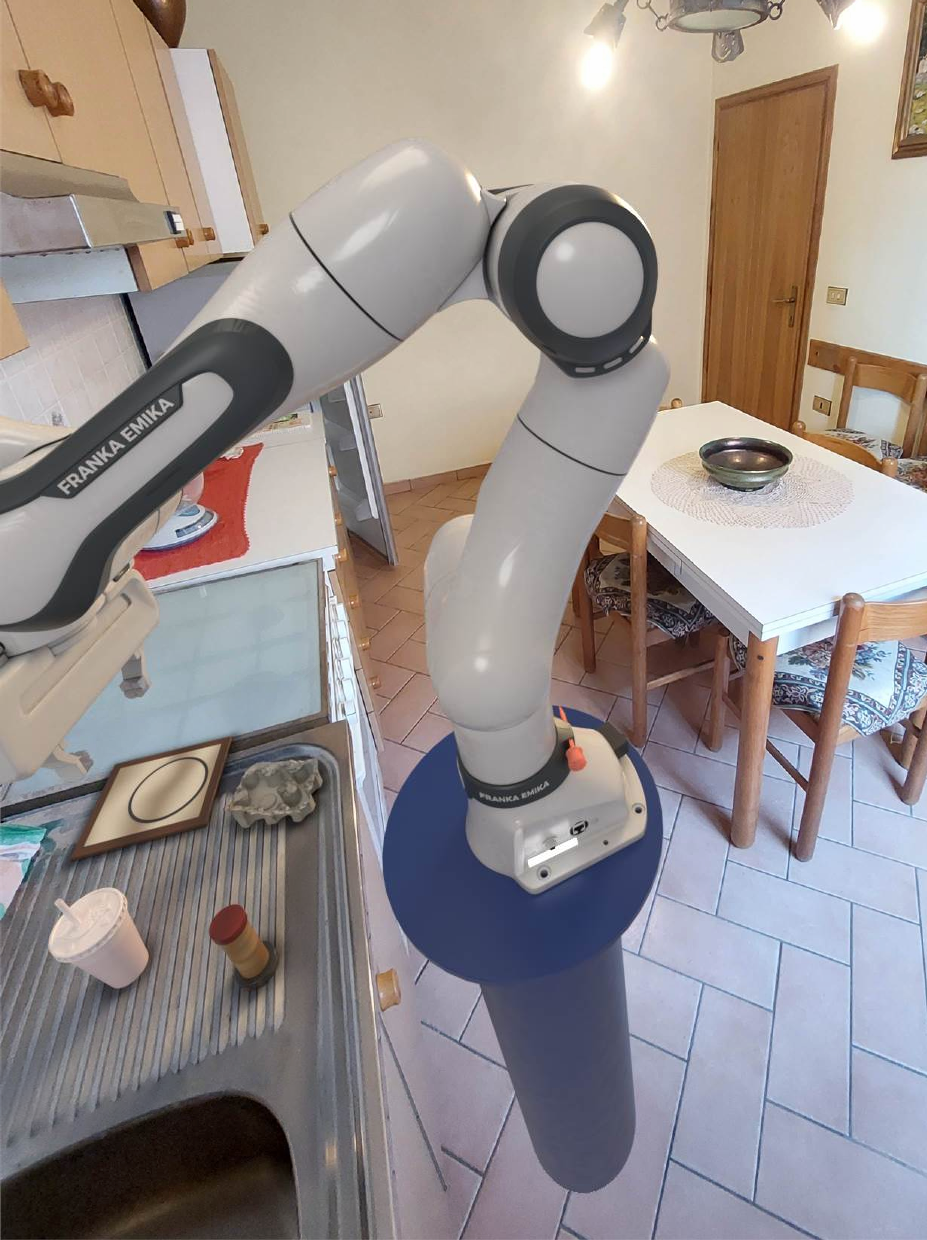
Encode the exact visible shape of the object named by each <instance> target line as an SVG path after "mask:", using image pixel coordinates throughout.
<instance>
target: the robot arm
mask: <svg viewBox="0 0 927 1240" xmlns="http://www.w3.org/2000/svg"><path fill="white" fill-rule="evenodd" d="M658 279H659V262H658V255H657V250H656V245H655V243H654V239H653V237H652V235H651V233H650V230H649V228H648V227H647V225H646V223H645V222H644V220H643V219H642V217H641V216H640V215H639V214H638V213H637V211H636V210H634V208H633V207H632V206H631V205H629V204H628V203H627V202H626V201H625V200H624V199H622V198H621V197H620V196H618V195H616V194H615V193H613V192H611V191H609V190H607V189H604V188H602V187H599V186H595V185H590V184H584V183H580V182H576V181H572V180H571V181H570V180H562V179H552V180H550V179H549V180H545V181H540V182H537V183H532V184H531V183H529V184H522V185H516V186H509V187H503V188H493V189H486V188H485V187H483V186H482V185H481V184H480V183H479V181H477V179H476V177H475V176H474V175H473V174H472V172H471V171H470V169H468V167H467V166H466V165H465V164H464V163H463V162H462V161H461V160H460V159H459V158H458V157H457V156H456V155H455V154H453V152H451V151H449V150H448V149H446V148H445V147H443V146H442V145H440V144H438V143H436V142H434V141H431V140H429V139H427V138H423V137H418V136H408V137H402V138H399V139H397V140H394V141H392V142H390V143H388V144H387V145H384V146H382V147H381V148H379V149H377V150H375V151H373V152H371V153H370V154H368V155H366V156H365V157H363V158H361V159H360V160H358V161H357V162H355V163H353V164H351V165H350V166H348V167H346V168H345V169H344V170H343V171H341V172H339V173H338V174H336V175H335V176H334V177H332V178H330V179H329V180H328V181H327V182H325V183H324V184H323V185H321V186H320V187H318V188H317V189H316V190H315V191H313V192H312V193H310V195H308V196H307V197H306V198H305V199H303V200H302V201H301V202H300V203H298V204H297V206H295V207H294V208H293V209H292V210H291V211H289V212H288V213H286V215H285V216H284V217H283V218H281V219H280V220H278V222H277V223H276V224H275V225H273V226H272V228H270V230H269V231H268V232H266V233H265V235H264V236H263V237H262V238H261V239H260V240H259V241H258V242H257V243H256V244H255V246H254V247H253V248H251V250H249V252H248V253H247V254H246V255H245V256H244V258H243V259H242V260H241V261H240V262H239V263H238V264H237V265H236V267H235V268H234V269H233V270H232V272H231V273H230V274H229V275H228V277H227V278H226V279H225V281H224V282H223V283H222V284H221V285H220V286H219V288H218V289H217V290H216V292H215V293H214V294H213V295H212V297H210V299H209V300H208V301H207V302H206V304H205V305H204V306H203V307H202V308H201V309H200V311H199V312H198V313H197V314H196V316H195V317H194V318H193V319H192V320H190V323H189V324H188V325H187V326H186V327H185V328H184V329H183V331H182V332H181V333H180V334H179V335H178V337H177V338H176V339H175V340H174V341H173V342H172V343H171V344H170V346H168V348H167V349H166V350H165V352H164V353H163V354H161V356H160V357H159V358H158V359H157V360H156V361H155V363H153V364H152V365H151V367H150V368H148V370H146V371H145V372H144V373H143V374H141V375H140V376H139V377H138V378H136V380H134V381H133V382H132V383H131V384H130V385H129V386H127V388H125V389H124V390H123V391H122V392H120V393H119V394H118V395H117V396H115V397H114V398H113V399H112V400H111V401H110V402H108V403H107V404H106V405H105V406H104V407H102V408H101V409H100V410H99V411H98V412H96V413H95V414H94V415H93V416H91V417H90V418H89V419H88V420H86V422H84V423H83V424H82V425H81V426H64V425H51V424H42V423H35V422H29V421H24V420H20V419H15V418H11V417H7V416H4V415H1V414H0V786H2V785H8V784H11V783H13V784H14V783H17V782H21V781H25V780H28V779H30V778H32V777H33V776H34V775H35V774H36V773H37V771H39V769H40V768H42V769H48V770H53V771H54V772H55V774H57V776H58V777H59V778H60V780H61V781H63V782H65V783H73V782H77V781H82V780H83V779H84V778H85V776H86V775H87V773H88V772H89V771H90V770H91V768H92V767H93V765H94V762H95V761H94V760H93V759H92V758H91V756H90V754H89V752H88V751H87V749H84V750H78V751H76V752H73V751H72V752H65V751H66V750H67V749H68V746H69V744H68V743H67V741H66V740H65V737H66V736H68V735H69V733H70V732H71V730H72V729H73V728H74V727H75V726H76V724H77V723H78V722H79V720H80V719H81V718H82V717H83V716H84V715H85V713H86V712H87V711H88V710H89V709H90V708H91V706H92V705H93V704H94V702H96V700H97V699H98V698H99V696H101V694H102V693H103V691H104V690H105V689H106V688H107V686H109V684H110V683H111V682H112V681H113V679H114V678H115V677H116V676H117V675H118V673H119V672H120V671H121V676H122V681H121V682H120V684H119V685H118V687H119V688H120V690H121V691H122V692H123V695H124V697H125V698H127V699H130V700H133V699H136V698H143V696H144V695H145V694H146V693H147V691H148V690H149V689H150V688H151V686H152V681H151V679H150V678H149V677H150V676H149V675H148V674H147V661H146V659H147V658H146V650H145V648H144V646H143V643H144V642H145V641H146V639H147V638H148V637H149V636H150V635H151V633H152V632H153V631H154V630H155V628H156V627H157V626H158V625H159V623H160V608H159V607H160V606H159V604H158V602H157V600H156V598H155V596H154V594H153V591H152V590H151V588H150V587H149V584H148V582H147V581H146V579H145V578H144V576H143V575H142V574H141V572H139V571H138V570H137V569H135V568H133V567H134V566H135V563H136V561H135V559H134V558H135V557H136V556H137V555H138V553H140V552H141V550H142V549H143V548H144V547H145V546H146V545H147V544H148V543H149V542H150V541H151V540H152V539H153V538H154V537H155V536H156V535H157V534H158V533H159V531H161V530H162V528H164V526H165V525H166V524H167V523H168V522H169V521H170V519H171V518H172V517H173V515H174V514H175V512H176V511H177V510H178V508H179V507H180V505H181V503H182V500H183V496H184V489H185V487H187V486H189V484H190V483H191V482H193V481H194V480H195V479H196V478H198V477H199V475H201V474H202V473H203V472H204V471H206V470H207V469H208V468H209V467H210V466H212V464H214V463H216V462H217V460H219V459H220V458H221V457H222V456H223V455H225V454H226V453H228V452H229V451H231V450H232V449H233V448H235V447H236V446H238V445H239V444H241V443H243V442H244V441H246V440H247V439H249V438H251V436H253V435H255V434H257V433H258V432H260V431H262V430H264V429H265V428H266V427H268V426H270V425H272V424H274V423H275V422H277V421H279V420H281V419H283V418H284V417H287V416H288V415H290V414H291V413H293V412H295V411H297V410H298V409H300V408H302V407H304V406H306V405H307V404H309V403H311V402H313V401H314V400H317V399H318V398H320V397H322V396H324V395H326V394H327V393H329V392H331V391H333V390H335V389H338V387H340V386H342V385H344V384H346V383H348V382H349V381H351V380H352V379H354V378H356V377H357V376H359V375H361V374H362V373H364V372H365V371H367V370H369V369H370V368H372V367H373V366H374V365H376V364H377V363H378V362H380V361H381V360H383V359H384V358H386V357H387V356H389V355H390V354H391V353H392V352H393V351H395V350H396V349H398V348H399V347H400V346H401V345H402V344H403V343H404V342H406V341H407V340H409V338H411V337H412V336H413V335H414V334H415V333H416V332H417V331H419V330H420V329H421V328H422V327H423V326H425V324H426V323H428V322H429V321H430V320H431V319H432V318H433V317H434V316H435V315H436V314H438V313H439V314H440V313H441V312H444V311H445V310H447V309H448V308H450V307H451V306H454V305H456V304H459V303H463V302H467V301H471V300H483V301H488V302H491V303H492V304H494V305H495V306H496V307H497V309H498V310H499V311H500V313H502V315H504V317H506V319H508V320H509V321H510V322H511V323H512V324H514V326H515V327H516V328H517V329H518V331H519V332H520V333H521V334H522V335H523V336H524V337H525V338H526V339H527V340H528V341H529V342H530V343H531V344H532V345H533V346H535V347H536V348H537V349H538V350H539V362H538V367H537V370H536V373H535V376H534V382H533V384H532V385H531V387H530V388H529V391H528V392H527V394H526V396H525V397H524V399H523V401H522V403H521V406H520V407H519V409H518V410H517V412H516V415H515V417H514V419H513V420H512V423H511V425H510V426H509V429H508V431H507V432H506V435H505V437H504V439H503V441H502V442H501V445H500V447H499V449H498V450H497V453H496V454H495V456H494V458H493V461H492V463H491V464H490V467H489V469H488V470H487V473H486V475H485V477H484V478H483V480H482V483H481V484H480V487H479V489H478V494H477V499H476V503H475V504H476V505H475V508H474V513H470V514H469V513H468V514H464V515H460V516H457V517H454V518H452V519H450V520H449V521H447V522H445V523H444V524H443V525H442V526H440V528H439V529H438V530H437V531H436V532H435V534H434V536H433V538H432V540H431V543H430V546H429V548H428V551H427V553H426V557H425V561H424V566H423V571H422V582H423V583H422V585H423V586H422V587H423V610H424V612H423V613H424V626H425V627H424V630H425V635H424V636H425V654H426V655H425V660H426V667H427V671H428V674H429V677H430V678H429V679H430V680H431V684H432V687H433V690H434V693H435V696H436V698H437V701H438V704H439V707H440V709H441V711H442V712H443V714H444V715H445V717H446V718H447V719H448V720H450V723H451V726H452V732H453V731H454V734H455V738H456V742H457V766H458V770H459V774H460V778H461V781H462V785H463V788H464V789H465V791H466V794H467V796H468V811H467V816H466V836H467V840H468V843H469V846H470V848H471V850H472V851H473V853H474V855H475V856H476V857H477V858H478V860H479V861H480V862H481V863H483V864H484V865H485V866H487V867H488V868H490V869H491V870H493V871H496V872H498V873H501V874H504V875H507V876H509V877H511V878H513V879H514V880H515V881H516V882H517V883H518V884H519V885H520V886H521V887H522V888H523V889H524V890H526V891H527V892H529V893H531V894H539V893H541V892H543V891H545V890H547V889H549V888H550V887H552V886H554V885H556V884H558V883H560V882H561V881H563V880H565V879H567V878H569V877H571V876H573V875H574V874H576V873H578V872H580V871H582V870H584V869H586V868H587V867H589V866H591V865H593V864H595V863H597V862H599V861H600V860H602V859H604V858H606V857H608V856H610V855H612V854H613V853H615V852H617V851H619V850H621V849H623V848H625V847H626V846H628V845H630V844H632V843H634V842H636V841H637V840H639V839H641V838H642V837H643V836H644V834H645V831H646V827H647V806H646V800H645V796H644V792H643V788H642V785H641V782H640V780H639V777H638V775H637V772H636V770H635V768H634V766H633V764H632V762H631V761H630V759H629V758H628V756H627V755H626V754H627V753H628V752H629V743H628V741H629V739H628V738H627V736H626V735H625V734H624V733H622V732H620V731H619V730H618V728H616V726H614V725H613V724H612V723H611V722H610V721H609V720H608V721H605V724H603V725H602V726H601V727H599V728H598V729H596V730H593V729H586V728H579V727H573V726H571V725H570V724H569V723H568V722H567V719H566V716H565V713H564V711H563V710H562V708H561V707H560V706H561V705H558V706H559V710H560V716H561V719H562V720H561V719H559V718H557V717H555V716H554V715H553V708H552V705H553V702H552V693H551V687H552V676H553V666H554V665H553V664H554V659H555V658H554V657H555V650H556V646H557V641H558V636H559V632H560V629H561V625H562V622H563V618H564V616H565V612H566V609H567V606H568V602H569V599H570V596H571V593H572V590H573V587H574V584H575V581H576V577H577V574H578V571H579V569H580V565H581V562H582V559H583V557H584V555H585V552H586V549H587V547H588V546H589V543H590V542H591V538H592V537H593V535H594V533H595V531H596V530H597V528H598V526H599V525H600V522H601V521H602V519H603V517H604V516H605V514H606V512H607V510H608V508H609V506H610V505H611V504H612V502H613V499H614V498H615V497H616V494H617V493H618V491H619V489H620V488H621V485H622V484H623V482H624V481H625V479H626V477H627V475H628V474H629V472H630V471H631V469H632V467H633V465H634V464H635V462H636V460H637V458H638V456H639V454H640V453H641V450H642V448H643V447H644V445H645V442H646V441H647V438H648V436H649V435H650V432H651V430H652V428H653V425H654V423H655V421H656V419H657V416H658V413H659V410H660V408H661V406H662V403H663V400H664V397H665V395H666V392H667V389H668V386H669V383H670V378H671V364H670V363H671V362H670V359H669V356H668V354H667V352H666V350H664V348H663V346H662V345H661V343H660V342H659V340H657V338H656V337H654V335H653V334H652V331H653V309H654V304H655V301H656V296H657V292H658V291H657V290H658V281H659V280H658ZM638 810H639V811H641V813H640V814H637V813H636V811H638ZM606 844H607V845H606ZM543 874H548V876H547V877H546V878H542V877H541V876H542V875H543Z"/></svg>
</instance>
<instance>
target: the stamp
mask: <svg viewBox="0 0 927 1240" xmlns="http://www.w3.org/2000/svg"><path fill="white" fill-rule="evenodd" d="M208 935H209V937H210V940H211V941H212V942H213V943H214V944H215V945H217V946H220V948H221V949H222V950H223V952H224V953H225V955H226V956H227V958H228V959H229V960H230V961H231V963H232V964H233V965H234V970H233V971H234V980H235V982H236V983H237V985H238V986H239V987H240V988H241V989H242V990H243V991H246V992H253V991H256V990H258V989H260V988H262V987H264V985H266V984H267V983H268V982H269V981H270V980H271V978H273V976H274V975H275V972H276V971H277V968H278V965H279V957H280V956H279V953H278V950H277V948H276V947H275V945H273V943H272V942H271V941H269V940H262V939H261V938H260V936H259V935H258V933H257V932H256V930H255V929H254V927H253V925H252V923H250V921H249V919H248V914H247V912H246V910H245V909H244V907H243V906H242V905H241V904H238V903H233V904H229V905H227V906H225V907H223V908H222V909H220V910H219V911H218V912H217V913H216V914H215V915H214V917H213V918H212V920H211V922H210V925H209V928H208Z"/></svg>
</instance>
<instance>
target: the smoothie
mask: <svg viewBox="0 0 927 1240" xmlns="http://www.w3.org/2000/svg"><path fill="white" fill-rule="evenodd" d="M53 904H54V905H55V907H57V908H58V909H59V911H61V913H62V914H61V916H60V918H58V920H57V921H56V922H55V924H54V926H53V928H52V930H51V931H50V935H49V938H48V943H47V944H48V951H49V953H50V954H51V955H52V956H53V958H54V959H55V960H56V961H57V962H59V963H63V964H68V963H69V964H71V965H72V966H75V967H77V968H79V969H81V970H82V971H83V972H85V973H87V974H89V975H90V976H92V977H94V978H96V979H97V980H99V981H101V982H102V983H104V984H106V985H108V986H109V987H111V988H113V989H123V988H125V987H128V986H129V985H131V984H132V983H133V982H135V981H136V980H137V979H138V978H139V977H140V976H141V974H142V973H143V972H144V970H145V968H146V967H147V965H148V963H149V952H148V950H147V948H146V945H145V943H144V941H143V939H142V938H141V935H140V932H139V931H138V929H137V927H136V925H135V922H134V921H133V918H132V917H131V914H130V912H129V910H128V900H127V898H126V895H124V894H123V893H122V892H121V891H120V890H119V889H118V888H115V887H102V888H98V889H94V890H93V891H90V892H89V893H87V894H85V895H84V896H82V897H80V898H79V899H77V900H76V901H75V902H74V903H72V905H70V906H69V905H68V904H67V903H66V902H65V901H64V900H63V899H62V898H61V897H59V898H57V899H56V900H55V901H54V903H53Z"/></svg>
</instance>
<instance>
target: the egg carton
mask: <svg viewBox="0 0 927 1240" xmlns="http://www.w3.org/2000/svg"><path fill="white" fill-rule="evenodd" d="M322 784H323V779H322V776H321V775H320V771H319V757H314V758H309V759H306V760H300V759H298V760H294V759H288V760H283V761H281V760H279V761H275V762H271V761H259V762H256V763H254V764H253V765H251V766H250V767H248V768H247V769H246V771H245V772H244V774H243V775H242V777H241V780H240V783H239V785H238V786H237V787H236V790H235V796H234V798H233V799H231V798H230V800H229V801H228V802H227V805H226V806H224V807H223V808H222V811H223V812H222V813H225V811H227V812H229V811H230V812H231V815H232V816H233V818H234V819H235V821H236V822H237V823H238V824H239V826H240V827H241V828H243V829H247V828H248V829H249V828H250V827H251V826H252V825H253V824H254V823H255V822H256V821H258V820H260V819H261V820H262V819H264V821H265V823H266V824H267V825H268V826H270V825H274V824H278V822H279V821H280V820H281V819H282V818H284V817H287V816H290V817H291V818H292V821H293V822H294V823H300V822H302V821H303V820H304V819H305V817H306V816H308V815H309V814H311V813H312V812H313V811H314V810H315V808H316V802H315V801H314V800H315V799H314V798H313V795H312V794H313V793H314V792H315V791H316V790H317V789H319V788H321V787H322Z"/></svg>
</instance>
